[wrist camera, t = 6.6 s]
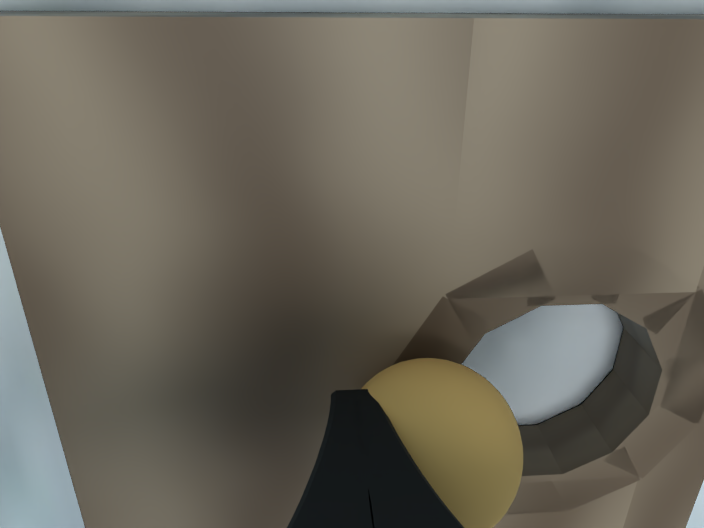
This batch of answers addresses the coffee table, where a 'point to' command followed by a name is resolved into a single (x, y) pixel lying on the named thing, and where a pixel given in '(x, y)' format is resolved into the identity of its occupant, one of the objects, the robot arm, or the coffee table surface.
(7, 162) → the wooden board with hole
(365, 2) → the coffee table surface
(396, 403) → the ball
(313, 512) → the robot arm
